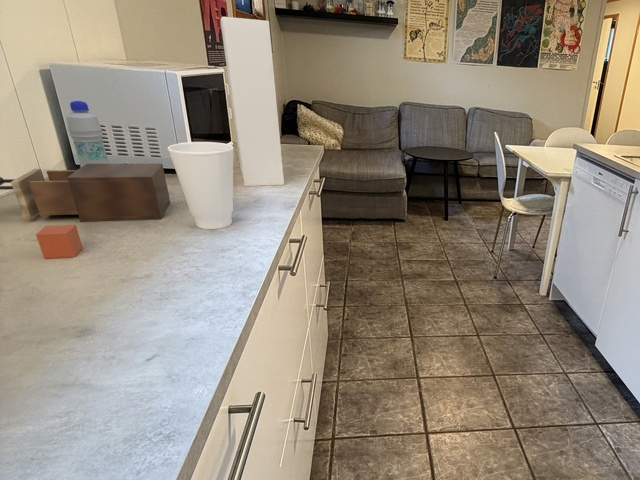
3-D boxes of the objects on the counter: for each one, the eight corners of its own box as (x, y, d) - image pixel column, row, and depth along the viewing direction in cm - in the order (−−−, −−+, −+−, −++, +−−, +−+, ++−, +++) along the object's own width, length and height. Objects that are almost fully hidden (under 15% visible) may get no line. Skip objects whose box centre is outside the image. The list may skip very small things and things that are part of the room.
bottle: (119, 181, 124) (98, 100, 115) (112, 188, 119) (89, 102, 109) (89, 181, 122) (65, 98, 113) (80, 188, 117) (54, 101, 107)
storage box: (284, 184, 133) (269, 20, 114) (244, 186, 129) (221, 16, 110) (275, 168, 149) (261, 23, 131) (240, 169, 145) (220, 19, 127)
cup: (224, 212, 108) (212, 139, 101) (255, 224, 103) (245, 148, 95) (171, 223, 100) (155, 145, 92) (202, 237, 94) (187, 155, 86)
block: (44, 258, 80) (35, 234, 78) (53, 249, 84) (45, 225, 82) (75, 257, 82) (67, 233, 80) (83, 247, 85) (75, 224, 83)
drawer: (-17, 219, 92) (-32, 182, 88) (9, 203, 101) (-4, 168, 98) (103, 215, 98) (93, 180, 95) (117, 200, 107) (108, 168, 104)
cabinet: (80, 221, 97) (66, 177, 92) (97, 204, 107) (86, 163, 103) (161, 219, 101) (151, 176, 97) (170, 202, 112) (162, 163, 108)
